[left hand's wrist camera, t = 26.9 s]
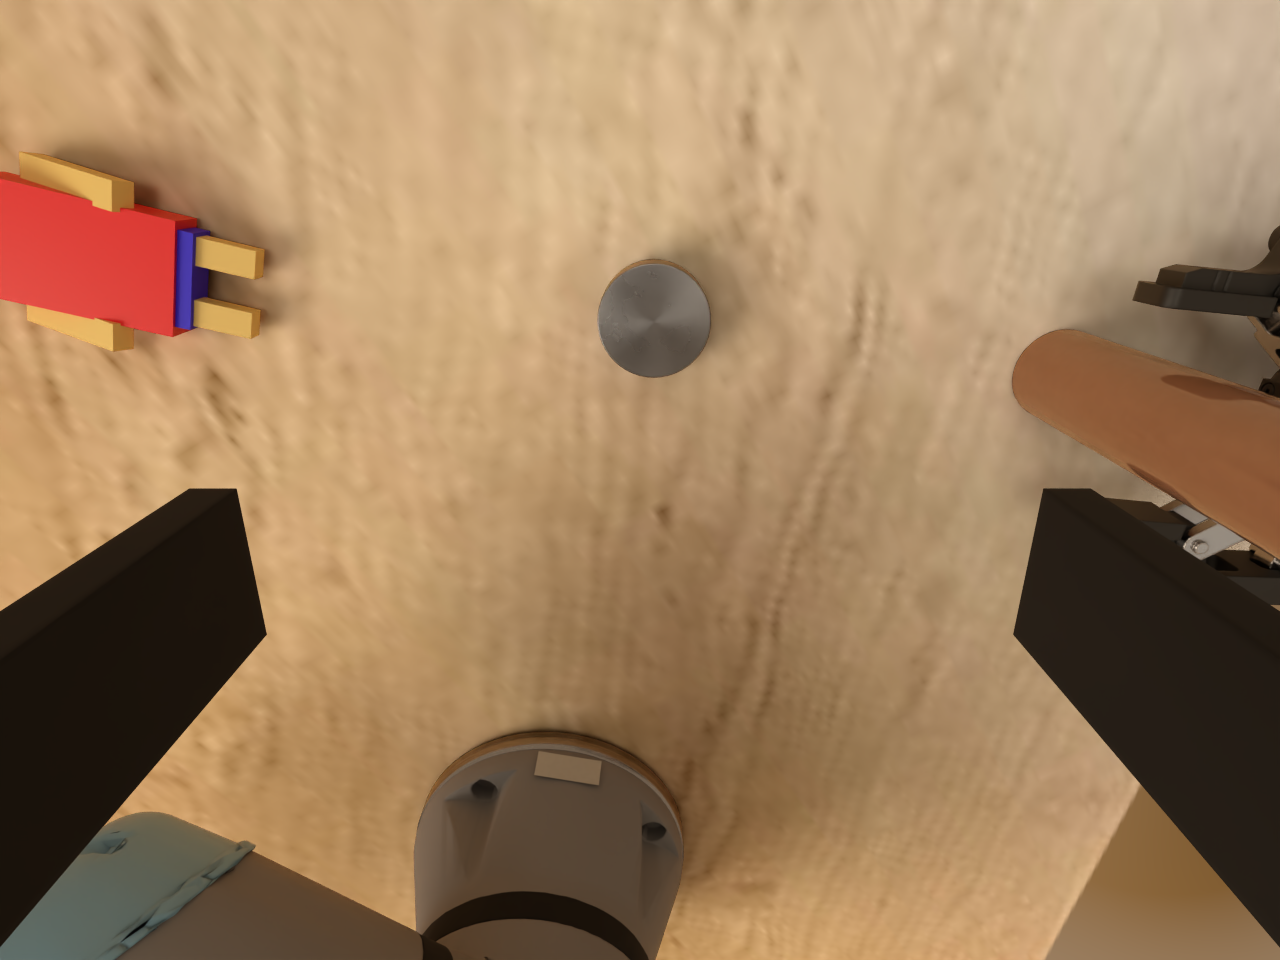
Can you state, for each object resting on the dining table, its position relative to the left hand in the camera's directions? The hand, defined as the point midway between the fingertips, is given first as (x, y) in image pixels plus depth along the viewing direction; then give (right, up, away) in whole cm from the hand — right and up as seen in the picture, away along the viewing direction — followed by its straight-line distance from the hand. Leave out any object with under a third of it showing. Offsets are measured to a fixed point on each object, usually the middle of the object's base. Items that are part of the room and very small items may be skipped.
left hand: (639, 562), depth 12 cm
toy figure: (-22, +11, +20) cm, 32 cm away
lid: (+1, +8, +19) cm, 21 cm away
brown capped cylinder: (+19, +6, +21) cm, 29 cm away
